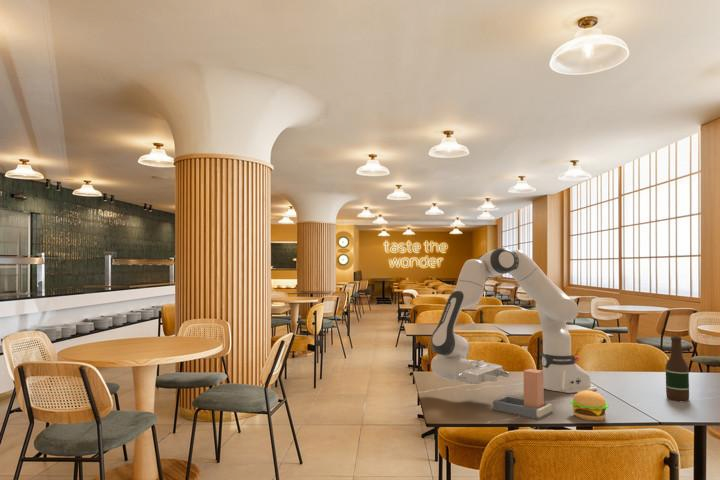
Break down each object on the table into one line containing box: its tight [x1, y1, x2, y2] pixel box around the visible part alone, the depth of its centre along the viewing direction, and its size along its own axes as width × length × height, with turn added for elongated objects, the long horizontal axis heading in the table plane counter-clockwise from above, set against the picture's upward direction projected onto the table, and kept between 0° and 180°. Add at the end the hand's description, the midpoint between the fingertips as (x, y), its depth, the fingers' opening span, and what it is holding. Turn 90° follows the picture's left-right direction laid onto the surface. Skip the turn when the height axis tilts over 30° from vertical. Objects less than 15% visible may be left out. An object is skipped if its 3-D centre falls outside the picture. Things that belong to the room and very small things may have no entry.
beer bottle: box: [665, 335, 690, 402], centre depth 200 cm, size 8×8×24 cm
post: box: [523, 368, 545, 408], centre depth 181 cm, size 5×5×14 cm
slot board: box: [492, 395, 553, 420], centre depth 183 cm, size 17×10×3 cm, turn 47°
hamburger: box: [570, 390, 610, 421], centre depth 177 cm, size 12×12×9 cm
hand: (502, 376), depth 189 cm, fingers open, 8 cm apart
